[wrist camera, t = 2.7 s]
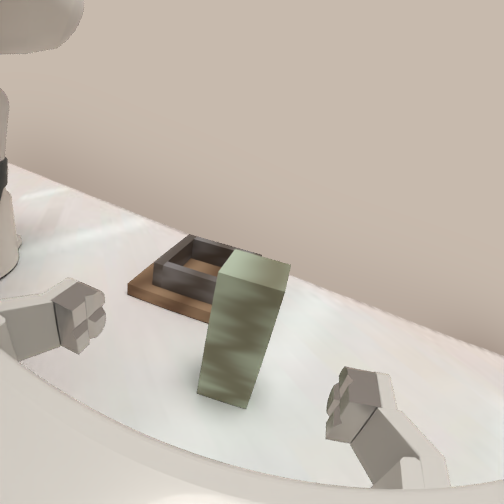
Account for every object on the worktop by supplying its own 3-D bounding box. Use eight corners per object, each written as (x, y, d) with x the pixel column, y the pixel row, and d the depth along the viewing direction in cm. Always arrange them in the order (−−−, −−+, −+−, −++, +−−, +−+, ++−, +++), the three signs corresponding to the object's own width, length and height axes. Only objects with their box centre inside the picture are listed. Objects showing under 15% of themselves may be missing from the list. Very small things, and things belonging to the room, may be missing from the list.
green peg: (196, 393, 25) (218, 272, 20) (211, 362, 29) (235, 249, 24) (245, 409, 24) (284, 291, 19) (255, 376, 28) (291, 265, 24)
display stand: (127, 294, 35) (128, 260, 34) (174, 253, 48) (177, 226, 46) (255, 337, 34) (265, 304, 32) (273, 283, 46) (281, 256, 45)
